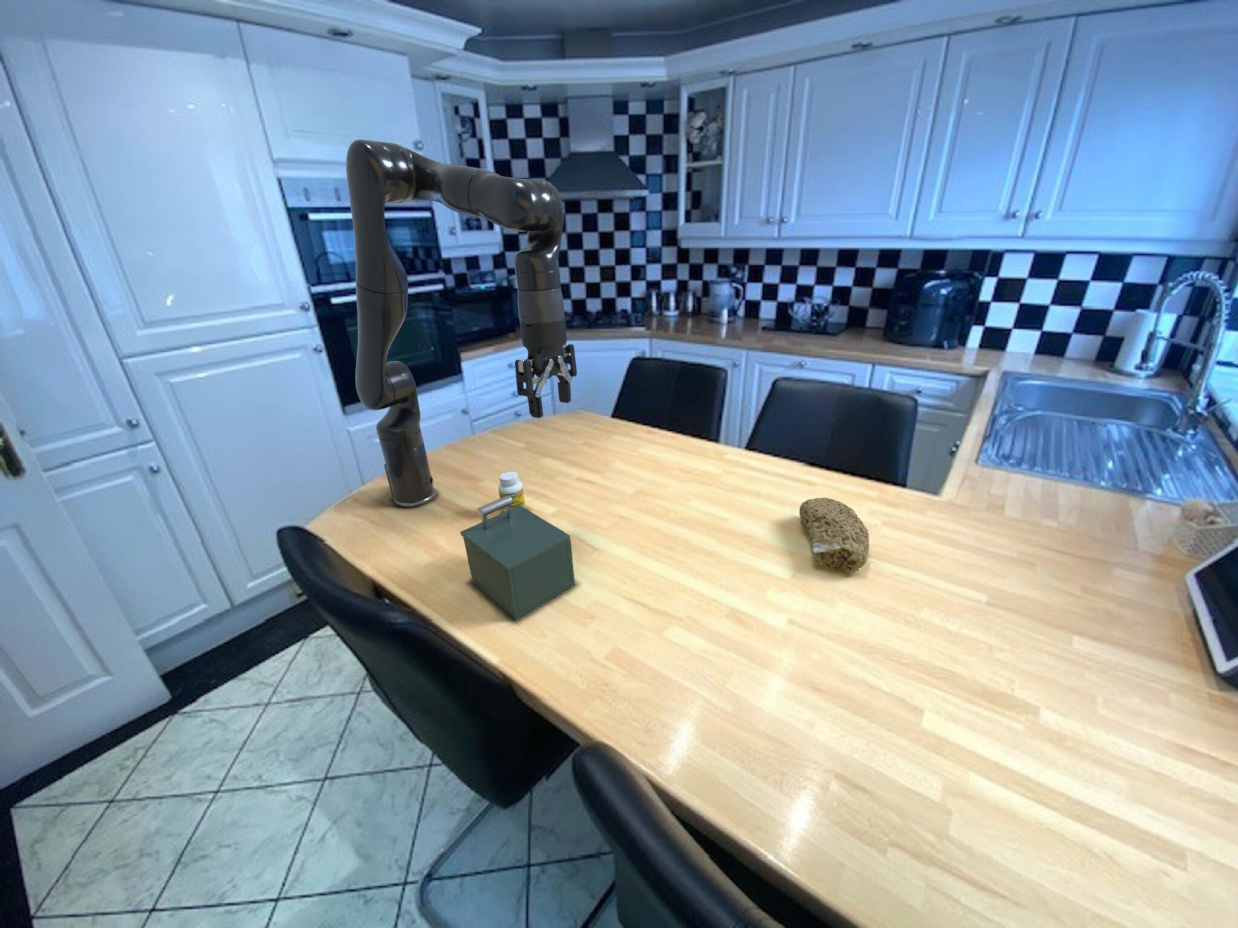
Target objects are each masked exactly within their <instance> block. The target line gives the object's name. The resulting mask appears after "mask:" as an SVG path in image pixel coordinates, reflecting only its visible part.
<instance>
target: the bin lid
mask: <svg viewBox="0 0 1238 928" xmlns="http://www.w3.org/2000/svg"><path fill="white" fill-rule="evenodd" d="M512 504H513V501H512V498H511V497H510V496H509V495H507V496H505V497H503V498H500V497H499V498H497V499H495V500H493V501H491V502H489V503H486V504H483V505H482V506H479V507H478V509H477V512H478V514H479V516H480V517H481V522H479V523H476V524H474V525H473V526H470V527H468V528H465V529H463V530H461V531H460V536H461V537H462V538H463V537H464V538H465V539H466V540H468V541H469V542H470V543H472V544H473V545H474V546H475V547H477V548H478V549H479V550H480V551H482V552H483V553H484V554H486V555H487V556H488V557H489V558H491V559H492V560H493V561H494V562H496V563H497V564H498V565H499V566H501V567H502V568H503V569H505V570H506V571H507V572H509V571H511V570H513V569H515V568H517V567H519V566H521V565H523V564H524V563H526V562H528V561H530V560H532V559H534V558H536V557H538V556H540V555H541V554H543V553H545V552H547V551H549V550H551V549H553V548H555V547H557V546H558V545H560V544H562V543H564V542H566V541H568V540H571V535H570V534H568V533H566V532H565V531H563V530H562V529H560V528H558V527H557V526H555V525H553V524H552V523H550V522H548V521H547V520H545V519H544V518H542V517H540V516H539V515H537V514H535V513H534V512H532V511H530V510H529V509H527V508H526V509H525V508H524V507H522V506H517V507H515V508H513V509H511V505H512ZM505 507H506V509H507V511H506V512H504V513H502V512H501V513H500V514H498V515H494V516H492V517H490V518H488V516H489V515H491V514H494V513H495V512H498V511H500V510H502V508H505ZM464 538H463V539H464Z"/></svg>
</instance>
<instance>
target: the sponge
mask: <svg viewBox="0 0 1238 928" xmlns="http://www.w3.org/2000/svg"><path fill="white" fill-rule="evenodd" d="M798 513H799V514H798V515H799V517H800V519H801V523H802V525H803V526H804V528H805V529H806V530H807V533H808V535H809V538H810V539H811V540H810V541H811V542H810V553H811V556H812V557H813V558H814V560H816V562H817V563H818V564H819V565H823V566H826V567H829V568H834V569H837V568H839V569H840V570H842V571H843V572H845V573H847V574H854V573H855V572H858V571H860V569H861V568H863V567H864V566H865V565H866V563H867V560H868V556H869V552H870V550H869V549H870V536H869V535H870V534H869V530H868V529H867V527H866V525H865V523H864V522H863V521H862V519H861V518H860V517H858V514H856V511H855V510H854V509H853V508H851V507H850V506H848V505H847V504H845V503H843V502H842V501H839V500H835V499H833V498H828V497H816V498H815V497H814V498H809V499H806V501H803V502H802V503H801V505H800V506H799V512H798Z"/></svg>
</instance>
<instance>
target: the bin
mask: <svg viewBox="0 0 1238 928" xmlns="http://www.w3.org/2000/svg"><path fill="white" fill-rule="evenodd" d="M462 539H463V542H464V543H463V544H464V547H465V552H466V558H467V563H468V567H469V573H470V577H471V581H472V583H473V584H474V585H475V586H477V587H478V588H479V589H480V590H481V591H482V592H483V593H484V594H486V595H487V596H488V597H489V598H490V599H491V600H492V601H493V602H494V603H495V604H497V606H499V607H500V608H501V609H502V610H503V611H504V612H506V613H507V614H508V615H509V616H510V617H511V618H512V619H513V620H515V621H518V620H520V619H521V618H522V617H525V616H526V615H527V614H528V615H529V613H531V612H533V611H534V610H536V609H537V608H539V607H540V606H542V605H544V604H546V603H548V602H549V601H551V600H552V599H554V598H556V597H558V596H559V595H561V594H563V593H564V592H566V591H568V590H569V589H570V588H572V587H574V586H575V585H576V582H575V581H576V580H575V572H574V571H575V570H574V561H573V551H572V542H571V539H570V540H568V541H566V542H564V543H562V544H560V545H558V546H557V547H555V548H553V549H551V550H549V551H547V552H545V553H543V554H541V555H540V556H538V557H536V558H534V559H532V560H530V561H528V562H526V563H524V564H523V565H521V566H519V567H517V568H515V569H513V570H511V571H509V572H507V571H506V570H505V569H503V568H502V567H501V566H499V565H498V564H497V563H496V562H494V561H493V560H492V559H491V558H489V557H488V556H487V555H486V554H484V553H483V552H482V551H480V550H479V549H478V548H477V547H475V546H474V545H473V544H472V543H470V542H469V541H468V540H466V539H465V538H464V537H463V536H462Z"/></svg>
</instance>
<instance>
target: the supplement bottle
mask: <svg viewBox="0 0 1238 928" xmlns="http://www.w3.org/2000/svg"><path fill="white" fill-rule="evenodd" d="M498 477H499V483H500V484H499V485H498V489H497V490H498V496H499V499H500V498H503V497H505V496H507V495H509V496H510V497H511V498H512V501H513V504H512V505H511V509H513V508H515V507H517V506H522V507H524V508H525V509H527V505H526V500H525V499H526V498H525V493H524V487H523V486H524V485H523V483H522V482H521V480H519V474H518V473H517V472H515V471H507V472H502V473H501V474H500V475H499V476H498ZM506 511H507V509H506V507H505V508H502V509H501V514H502V513H504V512H506Z"/></svg>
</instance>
